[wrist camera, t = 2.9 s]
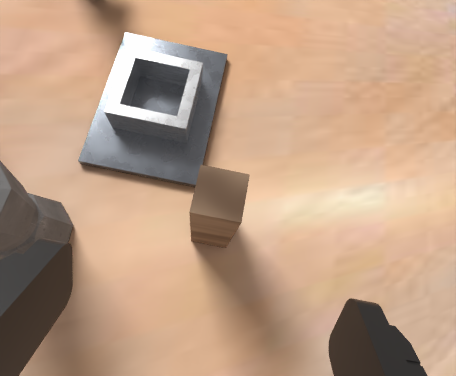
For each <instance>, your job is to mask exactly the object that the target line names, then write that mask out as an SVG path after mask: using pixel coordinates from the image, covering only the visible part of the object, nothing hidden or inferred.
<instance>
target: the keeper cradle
mask: <svg viewBox="0 0 456 376" xmlns="http://www.w3.org/2000/svg"><path fill="white" fill-rule="evenodd" d="M226 60H227V54H223V53H219V52H214V51H209V50H205V49H200V48H196V47H191V46H186V45H182V44H177V43H173V42H168V41H163V40H159V39H154V38H150V37H145V36H140V35H136V34H131V33H127V32H125V35H124V38H123V40H122V43H121V46H120V49H119V51H118V54H117V57H116V59H115V62H114V65H113V68H112V70H111V73H110V76H109V78H108V81H107V84H106V87H105V89H104V92H103V95H102V97H101V100H100V103H99V106H98V108H97V111H96V114H95V116H94V119H93V122H92V124H91V127H90V130H89V133H88V135H87V138H86V141H85V143H84V146H83V149H82V152H81V154H80V157H79V160H78V161H79V163H80V164H84V165H89V166H94V167H99V168H104V169H109V170H113V171H118V172H123V173H128V174H133V175H138V176H143V177H148V178H153V179H158V180H162V181H167V182H172V183H177V184H182V185H187V186H192V187H196V182H197V178H198V174H199V169H200V165H203V161H204V157H205V153H206V148H207V144H208V139H209V135H210V131H211V126H212V122H213V117H214V113H215V109H216V104H217V100H218V95H219V91H220V87H221V82H222V78H223V73H224V69H225V65H226Z"/></svg>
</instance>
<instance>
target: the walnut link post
mask: <svg viewBox="0 0 456 376" xmlns="http://www.w3.org/2000/svg"><path fill="white" fill-rule="evenodd" d="M248 181H249V174H244V173H239V172H234V171H230V170H225V169H220V168H215V167H210V166H205V165H200V169H199V174H198V178H197V182H196V187H195V191H194V195H193V200H192V204H191V208H190V227H191V241H193V242H198V243H203V244H209V245H214V246H219V247H224V248H226V247H227V245H228V243H229V242H230V240H231V238H232V237H233V235H234V234H235V232H236V230H237V229H238V227H239V226H240V224H241V222H242V216H243V210H244V204H245V198H246V193H247V187H248Z"/></svg>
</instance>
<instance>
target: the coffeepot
mask: <svg viewBox="0 0 456 376" xmlns="http://www.w3.org/2000/svg"><path fill="white" fill-rule="evenodd" d="M72 228H73V224H72V222H71V220H70V218H69V216H68V214H67V213H66V211H65V209H64V207H63V206H62V204H61V202H57V201H54V200H50V199H47V198H43V197H40V196H36V195H33V194H29V193H27V192H26V190H25V189H24V187H23V186H22V185H21V183H20V182H19V181H18V180H17V179H16V178H15V177H14V176H13V175H12V173H11V172H10V171H9V170H8V169H7V168H6V167H5V166H4V165H3V163H2V162H1V161H0V260H1V259H3V258H5V257H7V256H9V255H11V254H13V253H20V254H24V253H25V252H26V251H27V250H28V249H29V248H30V247H31V246H32V245H33V244H34V243H35V242H36V241H37V240H39V239H41V238H45V239H50V240H55V241H60V242H65V243H68V241H69V239H70V235H71V231H72Z"/></svg>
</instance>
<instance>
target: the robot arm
mask: <svg viewBox="0 0 456 376" xmlns="http://www.w3.org/2000/svg"><path fill="white" fill-rule="evenodd" d="M72 285H73V279H72V246H71V244H69V243H65V242H60V241H55V240H50V239H45V238H41V239H39V240H37V241H36V242H35V243H34V244H33V245H32V246H31V247H30V248H29V249H28V250H27V251H26V252H25V253H24V254H20V253H13V254H11V255H9V256H7V257H5V258H3V259H1V260H0V376H19V374H20V373H21V371H22V370H23V368H24V367H25V366H26V364H27V363H28V361H29V360H30V358H31V357H32V355H33V354H34V352H35V351H36V349H37V348H38V346H39V345H40V343H41V342H42V340H43V339H44V337H45V336H46V335H47V333H48V332H49V330H50V329H51V327H52V326H53V324H54V323H55V321H56V320H57V318H58V317H59V315H60V314H61V312H62V311H63V309H64V308H65V306H66V305H67V303H68V300H69V298H70V295H71V291H72ZM329 358H330V362H331V366H332V370H333V374H334V376H427V374H426V372H425V370H424V368H423V366H420V361H419V359H418V357H417V355H416V353H415V351H414V349H413V347H412V345H411V343H410V342H409V341H408V340H407V339H406V338H405V337H404V336H403V334H402V333H401V332H400V331H399V330H398V329H397V328H396V327H395V326H392V325H389V323H388V321H387V319H386V317H385V315H384V313H383V311H382V309H381V307H380V306H379V305H378V304H376V303H372V302H367V301H362V300H357V299H349V300H348V301H347V302H346V304H345V306H344V308H343V310H342V312H341V314H340V316H339V318H338V320H337V322H336V324H335V327H334V329H333V331H332V333H331V335H330V339H329Z"/></svg>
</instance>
